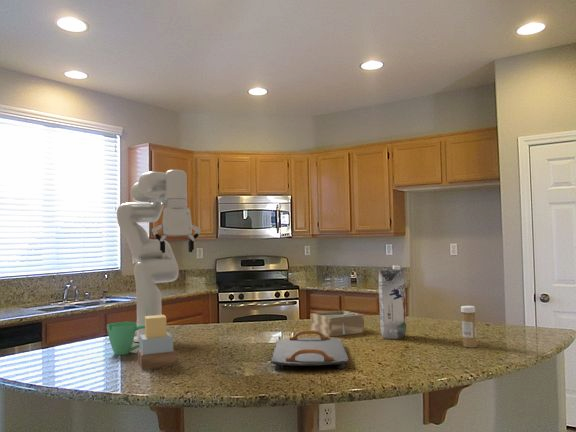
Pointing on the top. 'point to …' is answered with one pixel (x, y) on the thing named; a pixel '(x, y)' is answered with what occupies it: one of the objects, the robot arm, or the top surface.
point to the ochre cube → (155, 326)
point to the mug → (122, 336)
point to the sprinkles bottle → (468, 326)
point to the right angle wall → (338, 316)
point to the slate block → (155, 344)
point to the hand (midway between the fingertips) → (177, 252)
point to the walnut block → (156, 359)
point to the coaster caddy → (337, 323)
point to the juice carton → (392, 303)
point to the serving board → (309, 351)
